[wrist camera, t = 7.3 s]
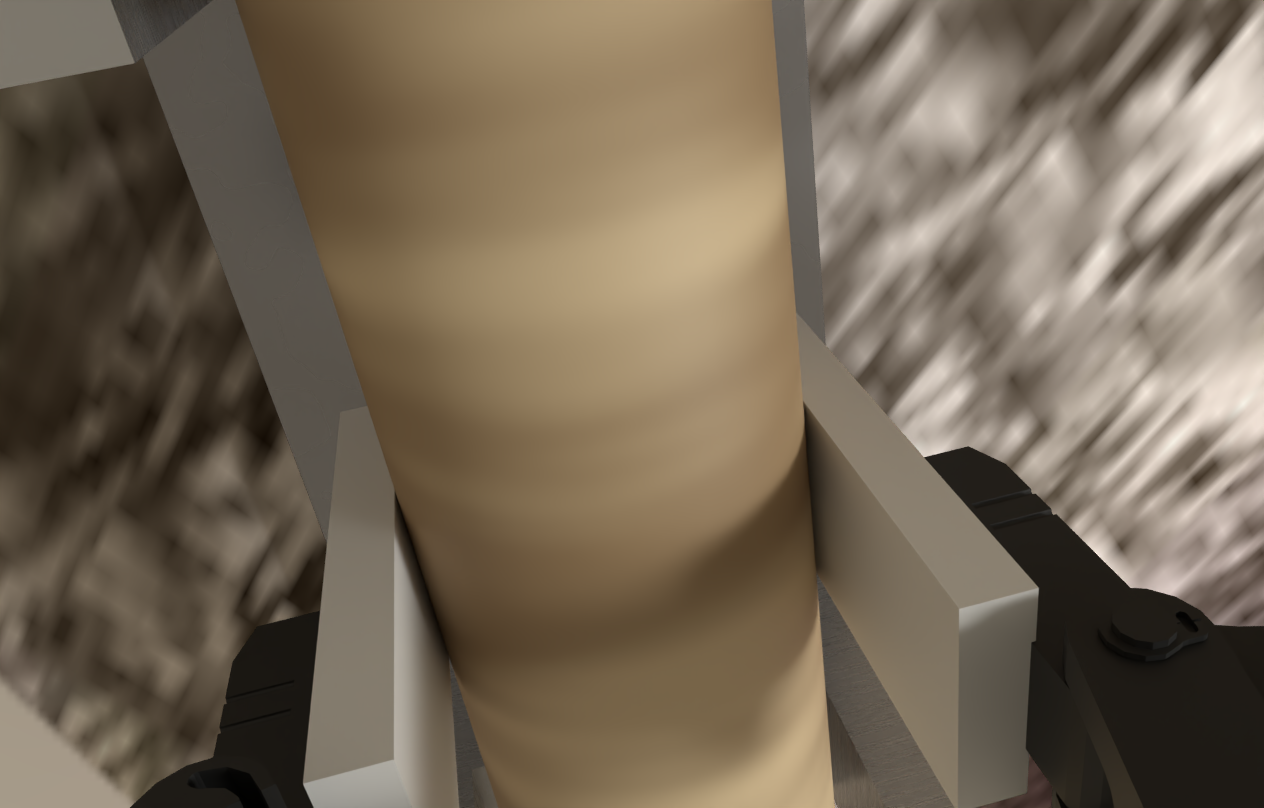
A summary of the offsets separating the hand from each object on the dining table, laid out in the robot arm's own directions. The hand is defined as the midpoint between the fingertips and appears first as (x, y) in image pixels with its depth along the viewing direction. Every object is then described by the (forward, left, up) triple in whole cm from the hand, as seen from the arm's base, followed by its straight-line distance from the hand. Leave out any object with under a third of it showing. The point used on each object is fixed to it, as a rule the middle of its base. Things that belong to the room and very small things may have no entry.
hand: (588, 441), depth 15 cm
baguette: (0, 0, 0) cm, 1 cm away
